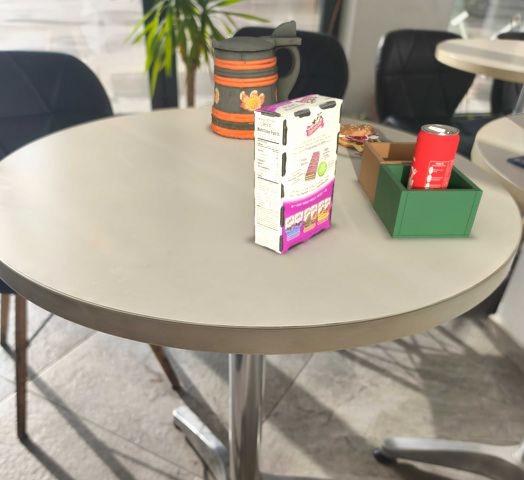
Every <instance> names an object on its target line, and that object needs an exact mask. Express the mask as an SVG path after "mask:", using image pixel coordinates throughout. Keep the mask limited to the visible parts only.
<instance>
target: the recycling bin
mask: <svg viewBox="0 0 524 480" xmlns="http://www.w3.org/2000/svg"><path fill="white" fill-rule="evenodd" d="M411 165H412V164H380V168H379V174H378V180H377V186H376V192H375V198H374V204H372V208H373V210H374V211H375V213H376V215H377V216H378V218H379V220H380V221H381V222H382V224H383V226H384V227H385V229H386V231H387V232H388V234H389V236H390V237H391V238H392V239H448V238H449V239H451V238H452V239H454V238H457V239H460V238H463V239H464V238H470V235H471V233H472V229H473V226H474V222H475V220H476V216H477V212H478V210H479V206H480V204H481V203H480V202H481V199H482V196H483V193H484V190H483V189H482V188H481V187H479V186H478V185H477V184H476V183H475V182H473V181H472V180H471V179H470V178H469V177H468V176H467V175H465V174H464V173H463V172H462V171H461V170H460V169H459V168H457V167H456V166H455V165H454V164H453V166H452V170H451V174H450V178H449V182H448V186H447V189H407V184H408V179H409V175H410V170H411Z"/></svg>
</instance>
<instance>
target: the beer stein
mask: <svg viewBox="0 0 524 480" xmlns="http://www.w3.org/2000/svg"><path fill="white" fill-rule="evenodd" d="M302 40H303V39H302V37H299V36H297V22H296V20H294V19H291V20H290V21H284V22H282V23H280V24H278V25H277V26H276V28H275V29H274V30H273V32H272V33H271V35H261V36H257V37H256V36H231V37H227V38H224V39H222V40H211V41H212V42H211V47H212V48H214V49H213V56H214V62H213V64H214V65H213V81H214V88H213V89H214V90H213V105H212V106H211V125H210V129H211V131H212V132H213V133H214V134H216V135H219V136H221V137H224V138H227V139H237V140H254V110H255V109H259V108H263V107H266V106H270V105H274V104H277V103H281V102H285V101H288V100H290V99H289V95H290V94H291V92H292V90H293V88H294V86H295V85H296V82H297V80H298V77H299V75H300V71H301V54H300V50H299V47H298V46H301V45H302ZM282 49H286V50H287V51H289V53H290V55H291V58H292V62H291V63H292V64H291V66H290V67H291V68H290V70H289V71H288V73H286V74H285V75H284V76H279V74H278V69H279V68H278V66H277V65H278V64H277V59H278V56H276V53H277V51H278V50H282Z"/></svg>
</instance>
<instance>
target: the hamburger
mask: <svg viewBox="0 0 524 480" xmlns="http://www.w3.org/2000/svg"><path fill="white" fill-rule="evenodd" d="M379 135H380V133H379V132H378V131H376V128H375V127H374V126H373V125H371V124H368V123H358V124H355V123H353V124H344V125H340V132H339V143H338V145H340V146H342V147H345V148H347V149H356V150H357V151H358V152H356V153H354V155H355V156H360V158H361V159H362V155H363V148H364V142H382V141H381V139H379V138H380V136H379Z"/></svg>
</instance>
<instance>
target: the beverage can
mask: <svg viewBox="0 0 524 480" xmlns="http://www.w3.org/2000/svg"><path fill="white" fill-rule="evenodd" d="M459 133H460V129H458V127H454V126H451V125H448V124H437V123H435V124H434V123H431V124H424V125H422V126H421V127H420V131H418V134H417V136H416V140H415V142H416V146H415V151H414V155H413V160H412V165H411V170H410V175H409V179H408V184H407V189H447V186H448V182H449V178H450V174H451V170H452V166H453V165H454V162H455V159H456V154H457V151H458V147H459V143H460V139H461V138H460V135H459Z"/></svg>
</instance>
